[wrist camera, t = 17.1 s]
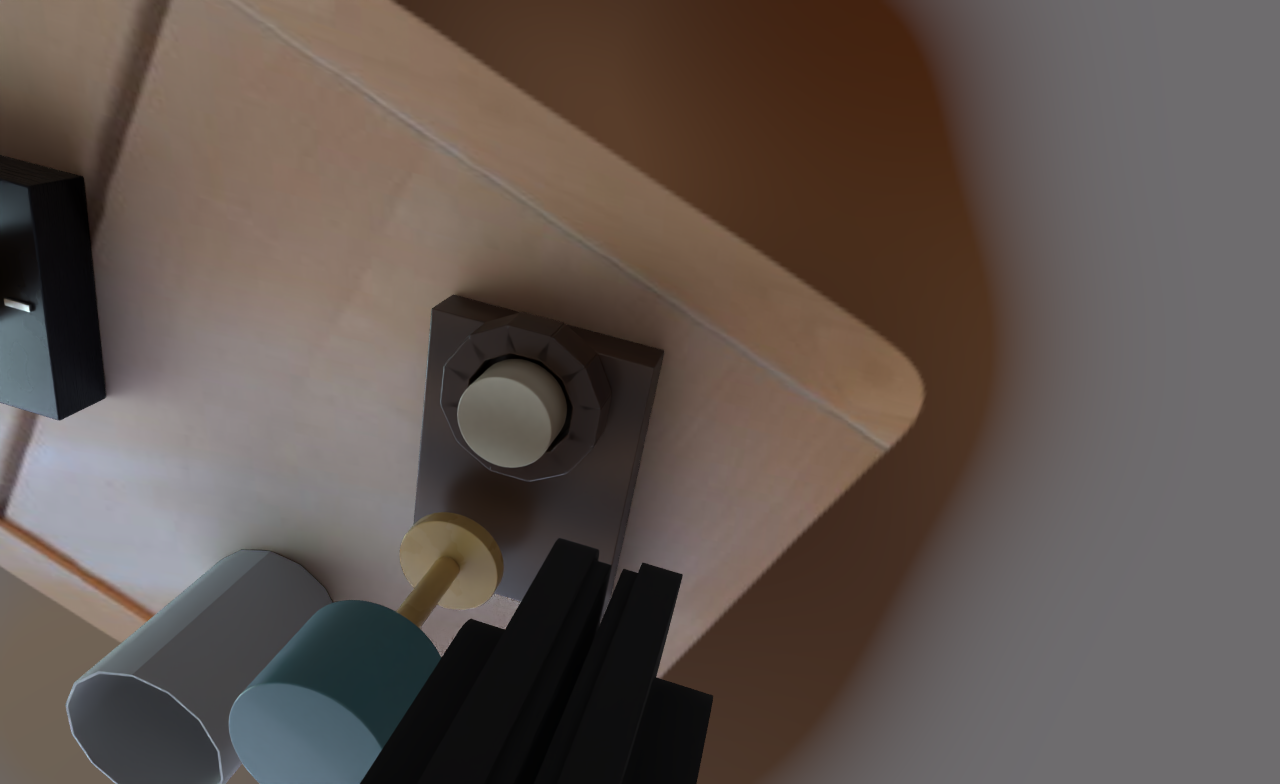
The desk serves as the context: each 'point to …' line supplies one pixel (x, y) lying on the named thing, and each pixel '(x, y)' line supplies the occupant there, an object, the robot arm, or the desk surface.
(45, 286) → the dimmer
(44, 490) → the desk surface
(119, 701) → the cup
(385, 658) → the lamp
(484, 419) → the switch
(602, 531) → the lamp base
